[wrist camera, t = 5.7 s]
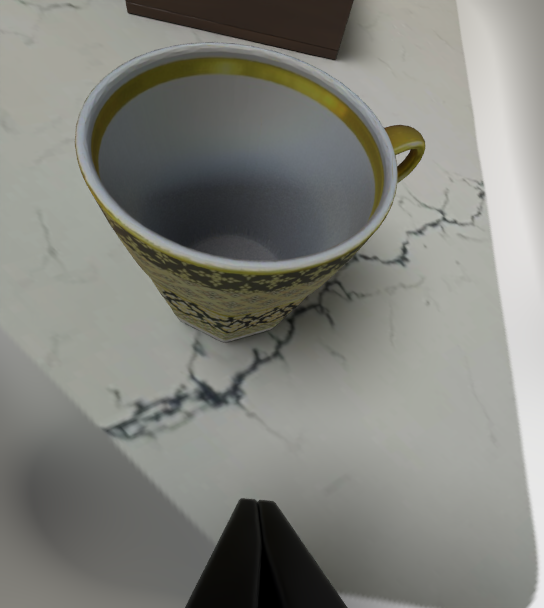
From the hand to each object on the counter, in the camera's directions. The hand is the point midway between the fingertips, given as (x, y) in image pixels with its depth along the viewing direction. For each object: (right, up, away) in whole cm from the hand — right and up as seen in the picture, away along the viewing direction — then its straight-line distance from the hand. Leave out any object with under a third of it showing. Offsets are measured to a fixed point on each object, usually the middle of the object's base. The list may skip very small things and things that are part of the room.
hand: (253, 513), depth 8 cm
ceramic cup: (-1, +6, +12) cm, 14 cm away
